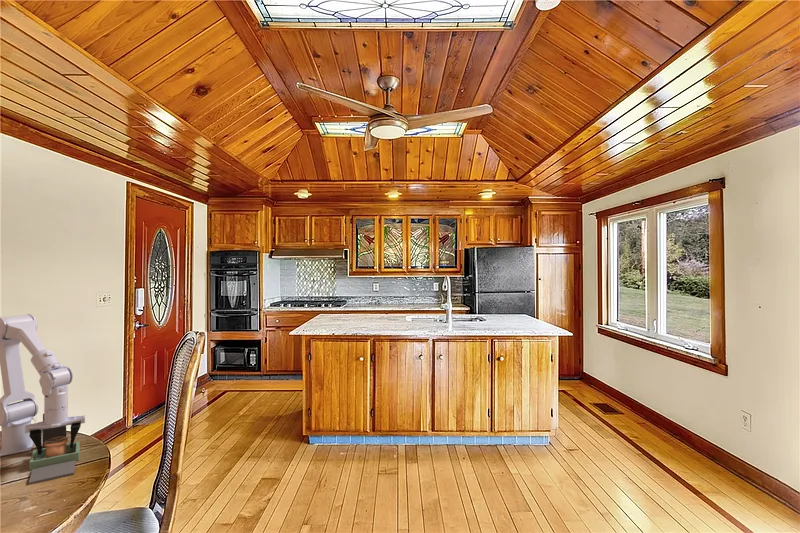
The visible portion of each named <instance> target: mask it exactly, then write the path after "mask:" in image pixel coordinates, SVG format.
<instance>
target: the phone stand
mask: <svg viewBox="0 0 800 533" xmlns="http://www.w3.org/2000/svg"><path fill="white" fill-rule="evenodd" d="M42 421H44V413H43V414H42ZM56 437H67V426H61V427H55V428H49V429H44V430H42V449H43V448H46V447H44V442H45V441H47V440H49V439H52V438H56Z"/></svg>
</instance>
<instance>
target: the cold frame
mask: <svg viewBox="0 0 800 533" xmlns="http://www.w3.org/2000/svg"><path fill="white" fill-rule="evenodd" d="M80 444H81V442H80V441H76V442H75V441H74V443H73V448H70V442H69V443H66V454H64V455H60V456H55V457H50V458H45V456H46V448H43V447H42V453H41V454H39V455H38V451H37V449H33V450H32V453H31V456H30V460H29V464H28V465H29V466H28V468H29V469H28V470H29V472H30V471H31V472H32V470H33V469H36V468H41V467H45V466H50V465H55V464H60V463H64V462H69V461H74V460H75V462H78V461H77V460H79V459H80V450H81V448H80V447H81V446H80Z"/></svg>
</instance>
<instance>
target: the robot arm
mask: <svg viewBox="0 0 800 533" xmlns="http://www.w3.org/2000/svg"><path fill="white" fill-rule="evenodd" d="M38 325H39V324H38V321H37V318H36V317H35V315H33V314H31V313H28V314H23V315H12V316H4V317H3V316H0V372H1V379H2V389H3V395H2V397H0V427H1V428H0V429H1V430H0V432H1V437H0V438H1V439H0V440H1V441H0V444H1V446H0V457H3V456H8V455H13V454H14V455H15V454H18V453H25V452H30V451H31V450H32V449H33V445H35V447H36V450H37V451H38V455H39V454H41V453H42V449H43V443H42V432H43V430H44V429H49V428H55V427H61V426H66V427H67V426H70V442H69V443H70V448H73V443H74V442H75V440H76V437H77V435H78V432H79V431H80V429H81V426H82V424H86V415H77V416H76V415H75V416H68V415H69V410H68V409H69V408H68V407H69V406H68V405H69V404H68V403H69V395H68V394H69V390H68V389H69V384H71V383H72V381H73V372H72V370H71V368H70V367H68V365H67V366H66V365H65V364H61V362H60V361H59V359H58V358H57V356H56V355H55V353H54V352H53V351H52V350H51V349H46V348H45V345H44V343H43V342H42V340H41V337H40V335H39V334H38V332H37V331H38ZM20 343H22V345H23V346H24V347H25V348H26V350H27V351H28V352H29V353H30V354H31V358H30V362H31V364H32V366H33V367H34V369H35V370H36V371H37V373H38V375H39V376H40V377H39V379H38V381H39V385H40V387H41V393H42V396H43V395H44V397H43V400H44V401H43V403H44V405H43V409H44V410H43V414H44V421H43V420H42V421H38V422H35V423H32V421H33V420H34V418H35V417H36V416H37V415H38V412H39V403H38V401H37V400H36V396H35V394H33V393H31V392H29V391H27V390H26V388H25V381H24V380H25V379H24V372H23V366H22V359H21V353H20V346H19V345H20Z"/></svg>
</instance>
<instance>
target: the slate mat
mask: <svg viewBox="0 0 800 533" xmlns="http://www.w3.org/2000/svg"><path fill="white" fill-rule="evenodd" d="M75 466H76V461H75V460H74V461H69V462H64V463H60V464H55V465H50V466H45V467H41V468H36V469H33V470H32V471H31V473H30V477H29V480H28V485H34V484H39V483H43V482H46V481H51V480H55V479H60V478H65V477H69V476H73V475H75V470H76V467H75Z"/></svg>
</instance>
